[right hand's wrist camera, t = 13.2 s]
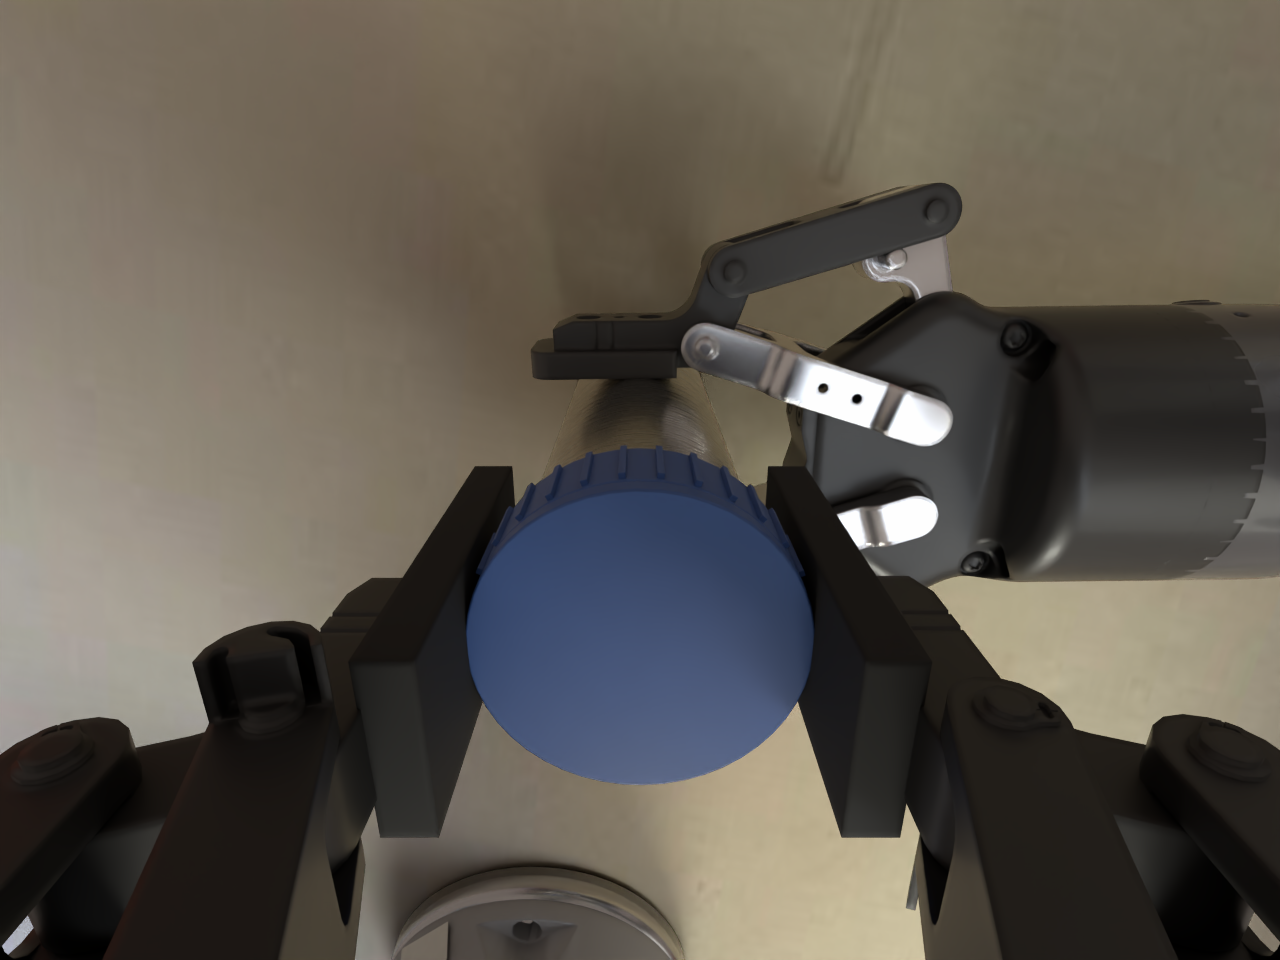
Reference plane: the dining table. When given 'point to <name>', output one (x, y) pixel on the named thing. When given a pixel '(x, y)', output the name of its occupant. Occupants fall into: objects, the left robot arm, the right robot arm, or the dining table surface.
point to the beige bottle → (641, 419)
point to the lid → (640, 619)
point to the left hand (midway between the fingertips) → (544, 451)
